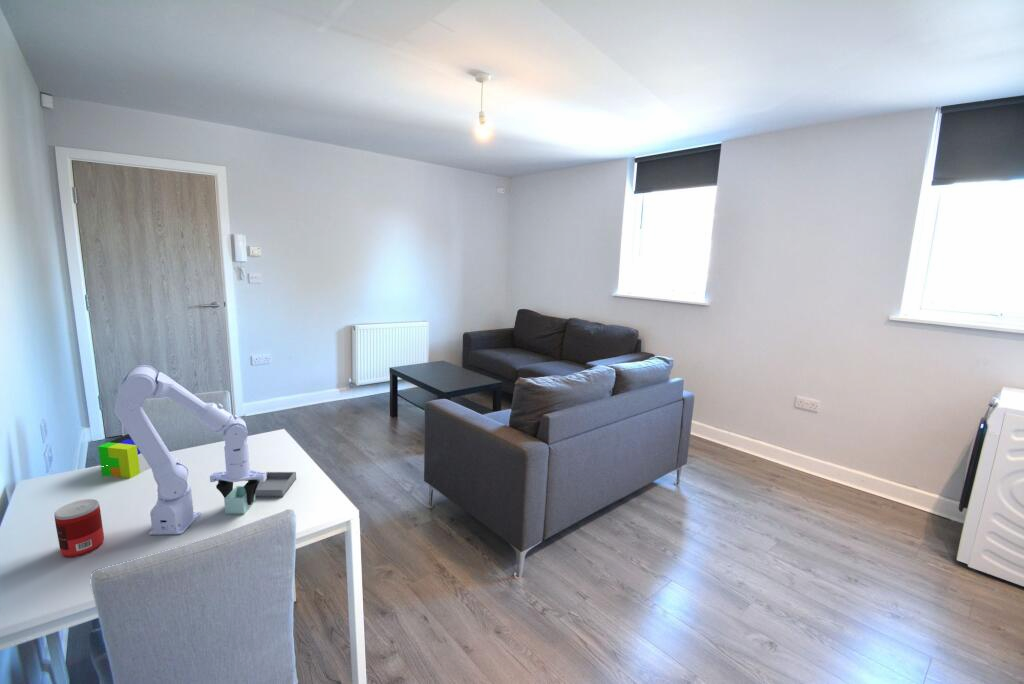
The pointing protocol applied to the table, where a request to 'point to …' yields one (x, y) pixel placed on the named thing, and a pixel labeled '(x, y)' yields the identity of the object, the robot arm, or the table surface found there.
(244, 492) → the small crate
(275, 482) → the gray tray
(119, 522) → the table surface
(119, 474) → the puzzle toy
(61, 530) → the canned food
